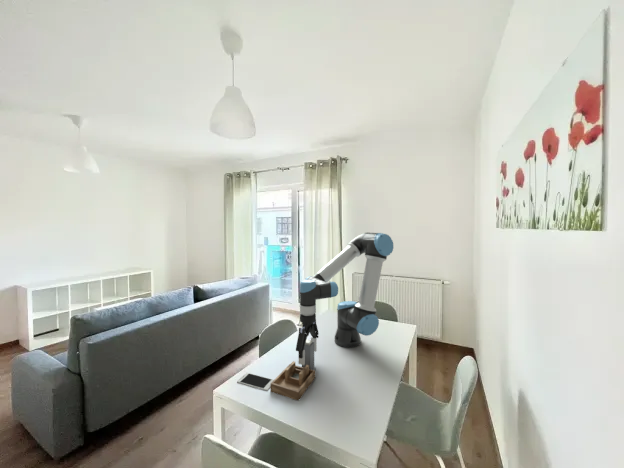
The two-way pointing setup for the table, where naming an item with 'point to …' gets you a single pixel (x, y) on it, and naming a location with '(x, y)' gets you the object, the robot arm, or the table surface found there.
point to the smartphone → (256, 381)
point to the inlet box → (293, 381)
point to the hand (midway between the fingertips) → (307, 357)
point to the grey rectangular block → (309, 354)
